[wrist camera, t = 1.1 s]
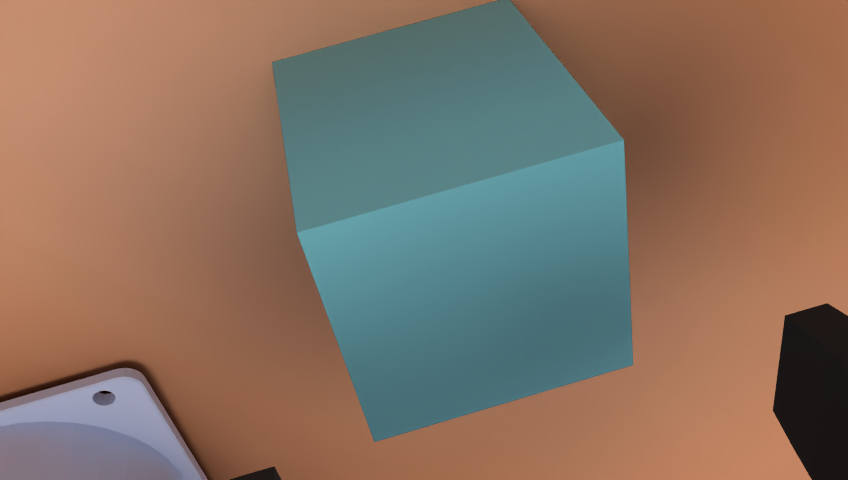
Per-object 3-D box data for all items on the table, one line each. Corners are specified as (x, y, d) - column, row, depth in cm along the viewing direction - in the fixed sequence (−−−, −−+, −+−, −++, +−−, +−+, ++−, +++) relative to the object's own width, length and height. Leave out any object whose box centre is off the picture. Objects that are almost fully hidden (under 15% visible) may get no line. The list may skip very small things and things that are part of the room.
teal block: (334, 247, 20) (374, 442, 15) (272, 61, 16) (297, 233, 12) (532, 190, 20) (633, 364, 15) (507, -3, 17) (623, 140, 12)
